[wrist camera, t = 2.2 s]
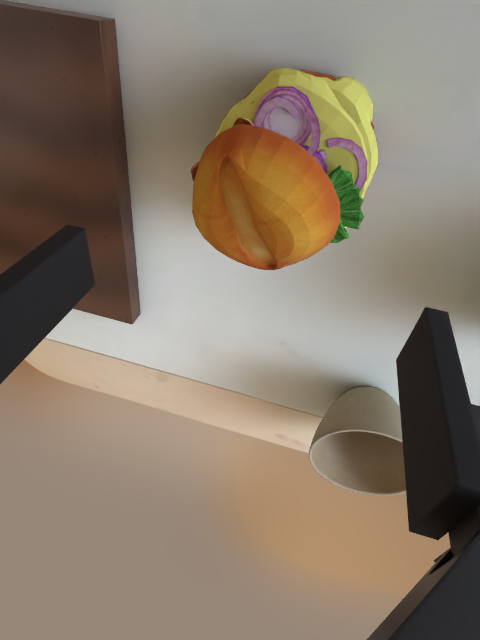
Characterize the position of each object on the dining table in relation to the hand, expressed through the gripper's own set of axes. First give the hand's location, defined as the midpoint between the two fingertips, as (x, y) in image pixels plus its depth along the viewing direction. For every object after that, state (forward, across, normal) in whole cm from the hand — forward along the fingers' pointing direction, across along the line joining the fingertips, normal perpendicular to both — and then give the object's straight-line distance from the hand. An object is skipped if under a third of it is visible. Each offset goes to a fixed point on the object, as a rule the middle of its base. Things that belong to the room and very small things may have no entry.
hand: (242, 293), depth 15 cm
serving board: (+15, -20, -5) cm, 26 cm away
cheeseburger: (+15, 0, 0) cm, 15 cm away
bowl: (+15, +12, -22) cm, 29 cm away
